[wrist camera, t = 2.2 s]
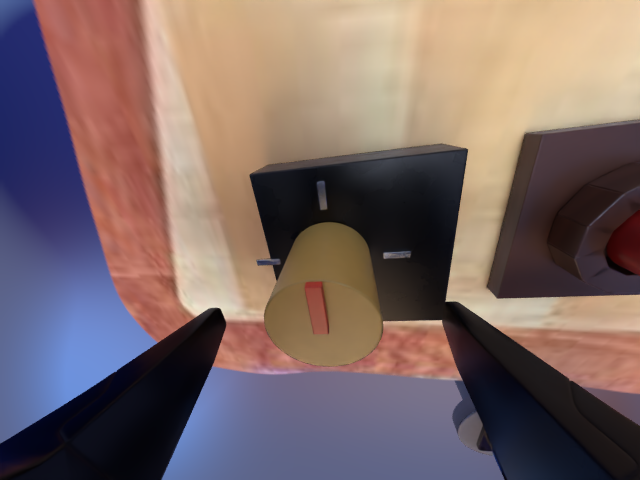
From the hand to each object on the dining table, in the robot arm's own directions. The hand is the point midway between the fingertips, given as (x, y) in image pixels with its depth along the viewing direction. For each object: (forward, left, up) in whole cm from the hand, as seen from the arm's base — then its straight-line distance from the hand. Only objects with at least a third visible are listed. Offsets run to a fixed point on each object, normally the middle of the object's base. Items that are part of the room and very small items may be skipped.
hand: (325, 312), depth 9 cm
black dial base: (0, -1, -7) cm, 7 cm away
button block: (0, -14, -7) cm, 16 cm away
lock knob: (0, 0, -4) cm, 4 cm away
